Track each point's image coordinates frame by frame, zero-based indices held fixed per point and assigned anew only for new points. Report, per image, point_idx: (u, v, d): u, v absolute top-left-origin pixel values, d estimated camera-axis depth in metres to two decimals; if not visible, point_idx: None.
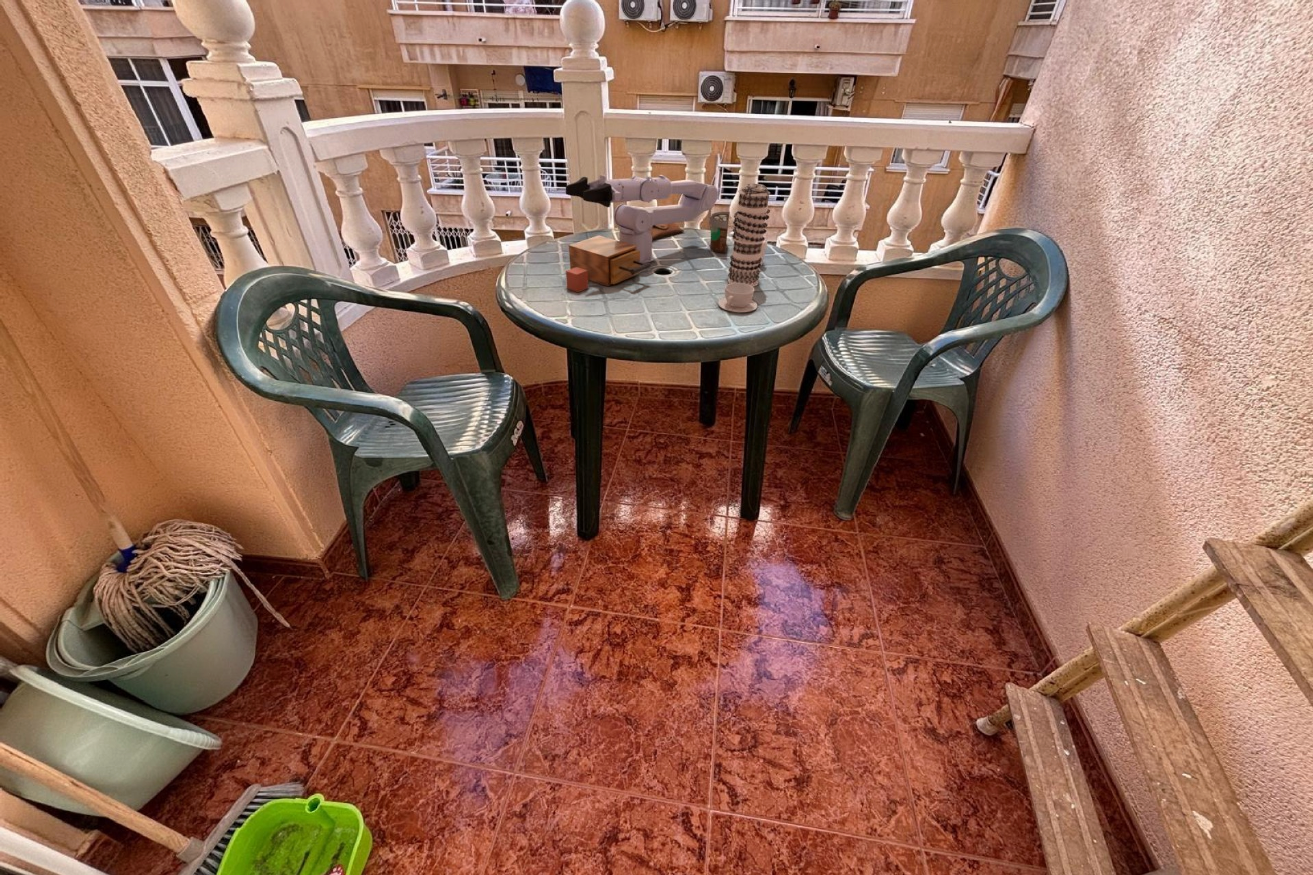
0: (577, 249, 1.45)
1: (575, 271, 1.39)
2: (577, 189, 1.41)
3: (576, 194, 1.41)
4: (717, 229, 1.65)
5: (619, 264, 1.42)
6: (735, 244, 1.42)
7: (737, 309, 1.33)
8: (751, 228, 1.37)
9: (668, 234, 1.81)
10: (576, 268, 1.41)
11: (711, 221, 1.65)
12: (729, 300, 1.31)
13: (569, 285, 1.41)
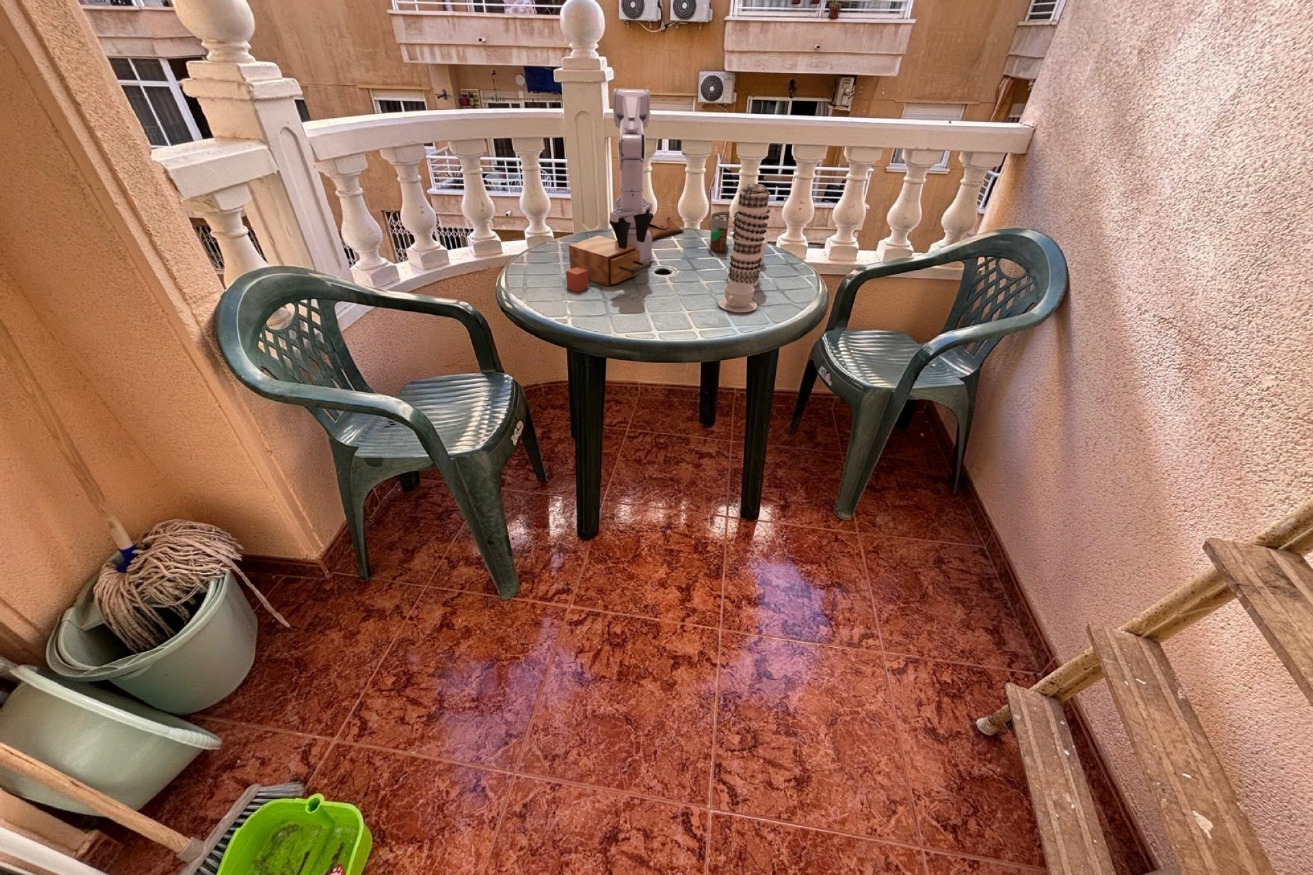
0: (577, 249, 1.45)
1: (575, 271, 1.39)
2: None
3: None
4: (717, 229, 1.65)
5: (619, 264, 1.42)
6: (735, 244, 1.42)
7: (737, 309, 1.33)
8: (751, 228, 1.37)
9: (668, 234, 1.81)
10: (576, 268, 1.41)
11: (711, 221, 1.65)
12: (729, 300, 1.31)
13: (569, 285, 1.41)
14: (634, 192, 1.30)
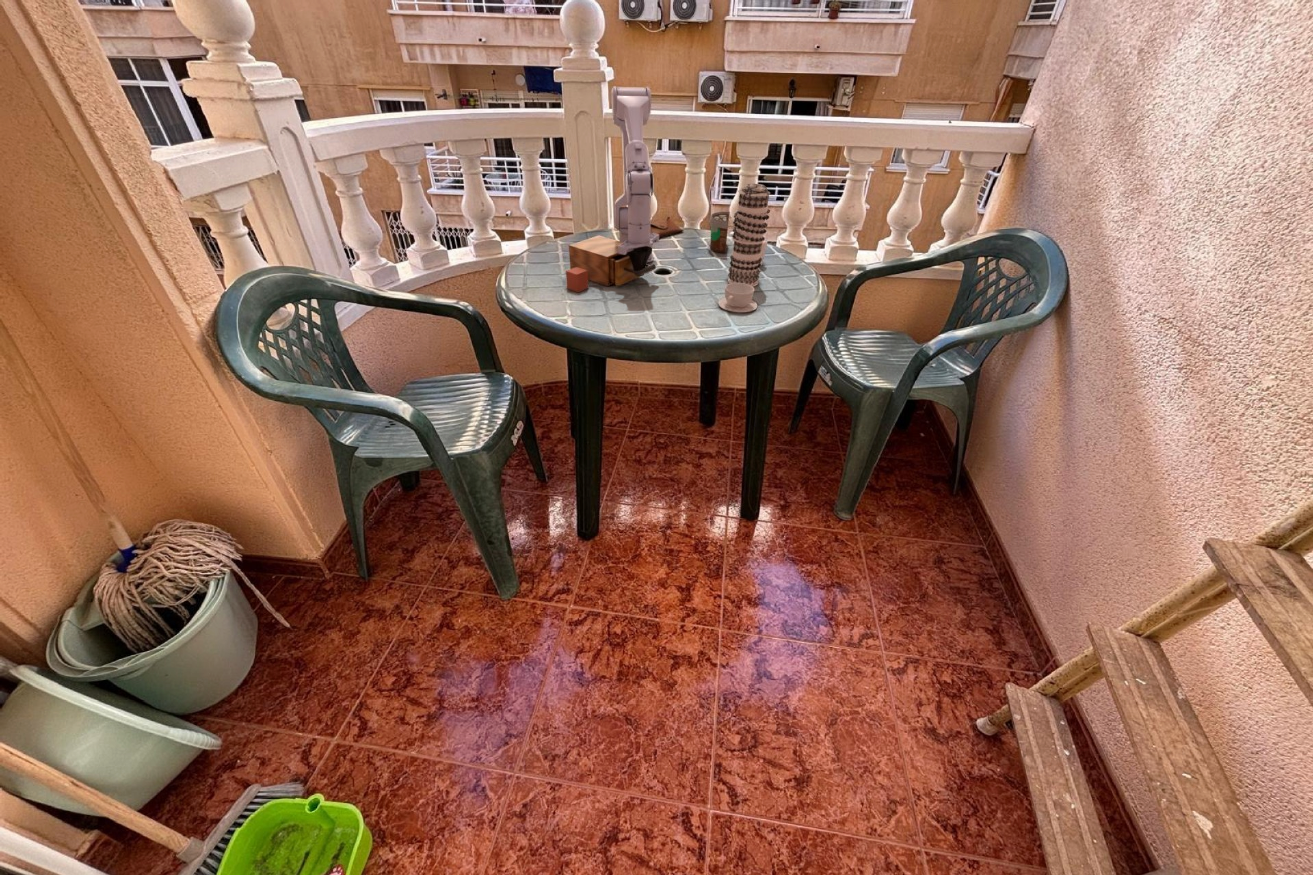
0: (577, 249, 1.45)
1: (575, 271, 1.39)
2: None
3: None
4: (717, 229, 1.65)
5: (624, 265, 1.41)
6: (735, 244, 1.42)
7: (737, 309, 1.33)
8: (751, 228, 1.37)
9: (668, 234, 1.81)
10: (576, 268, 1.41)
11: (711, 221, 1.65)
12: (729, 300, 1.31)
13: (569, 285, 1.41)
14: (642, 225, 1.33)
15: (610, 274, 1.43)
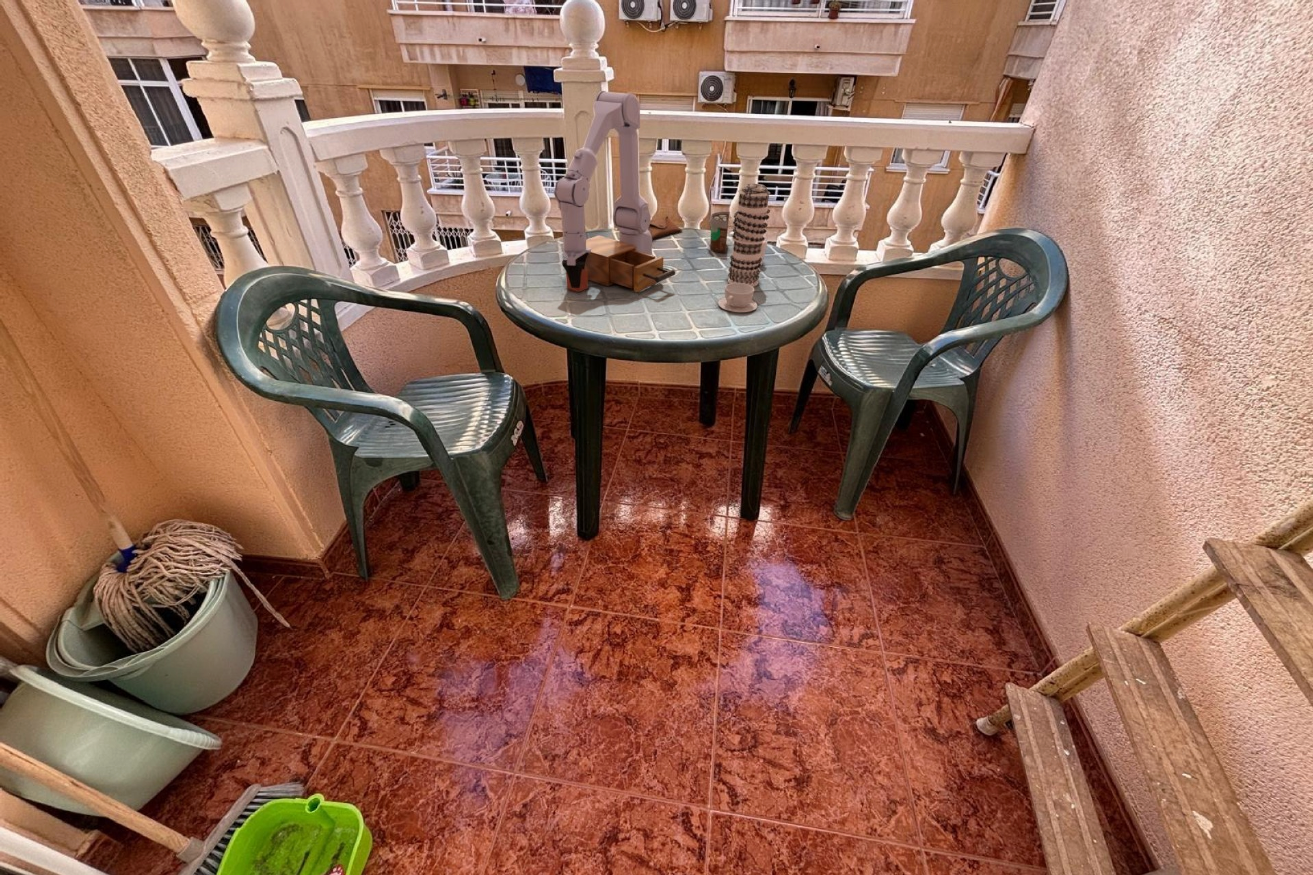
0: None
1: None
2: None
3: None
4: (717, 229, 1.65)
5: (643, 271, 1.38)
6: (735, 244, 1.42)
7: (737, 309, 1.33)
8: (751, 228, 1.37)
9: (667, 233, 1.81)
10: None
11: (711, 221, 1.65)
12: (729, 300, 1.31)
13: (569, 285, 1.41)
14: (582, 233, 1.32)
15: (628, 280, 1.40)
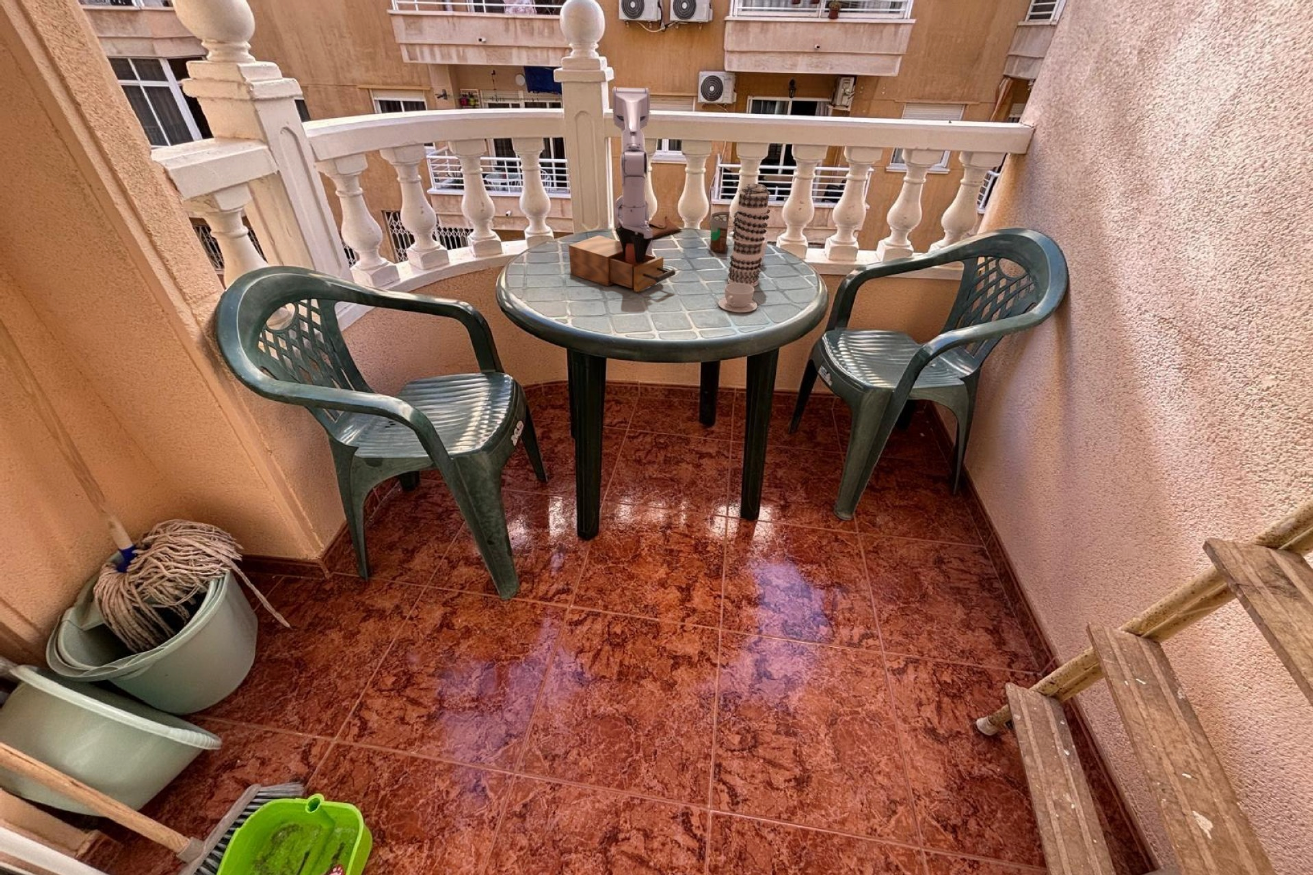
0: (577, 249, 1.45)
1: None
2: None
3: None
4: (717, 229, 1.65)
5: (643, 271, 1.38)
6: (735, 244, 1.42)
7: (737, 309, 1.33)
8: (751, 228, 1.37)
9: (666, 233, 1.81)
10: (629, 244, 1.41)
11: (711, 221, 1.65)
12: (729, 300, 1.31)
13: (629, 262, 1.40)
14: (645, 205, 1.34)
15: (628, 280, 1.40)
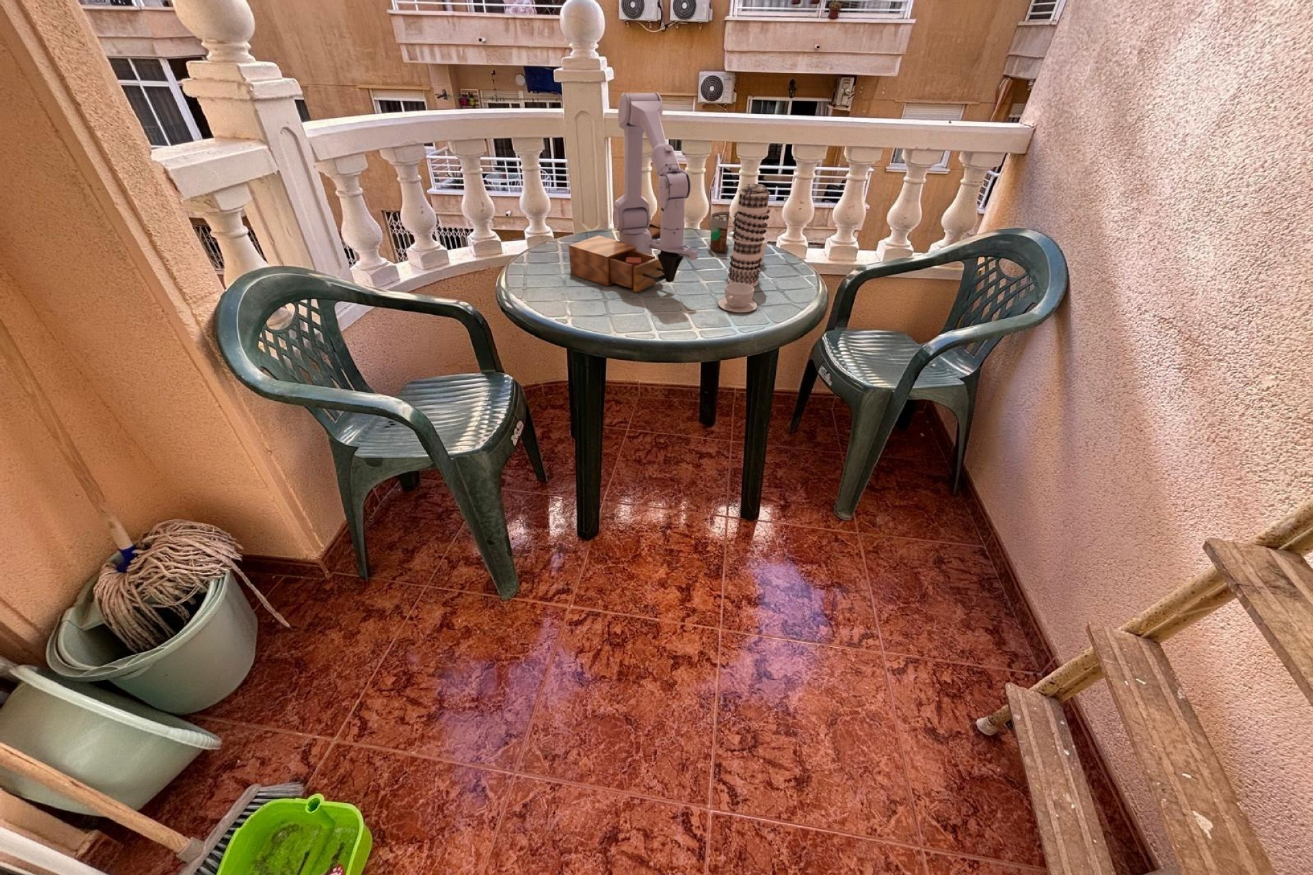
0: (577, 249, 1.45)
1: (634, 260, 1.42)
2: None
3: None
4: (717, 229, 1.65)
5: (642, 271, 1.38)
6: (735, 244, 1.42)
7: (737, 309, 1.33)
8: (751, 228, 1.37)
9: None
10: (629, 258, 1.43)
11: (711, 221, 1.65)
12: (729, 300, 1.31)
13: None
14: None
15: (628, 280, 1.40)
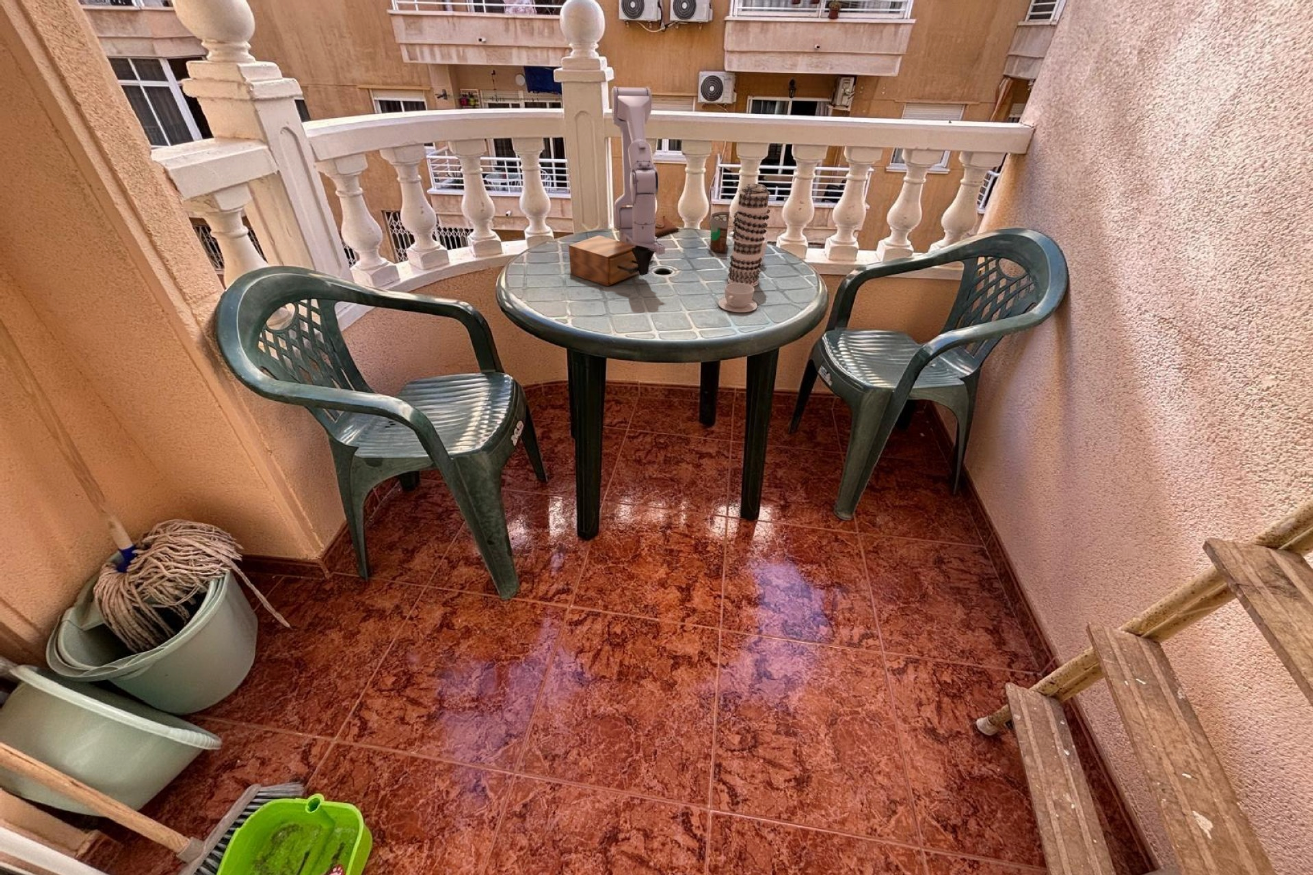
0: (577, 249, 1.45)
1: None
2: None
3: None
4: (717, 229, 1.65)
5: (617, 263, 1.42)
6: (735, 244, 1.42)
7: (737, 309, 1.33)
8: (751, 228, 1.37)
9: (665, 233, 1.82)
10: None
11: (711, 221, 1.65)
12: (729, 300, 1.31)
13: None
14: (654, 222, 1.35)
15: None
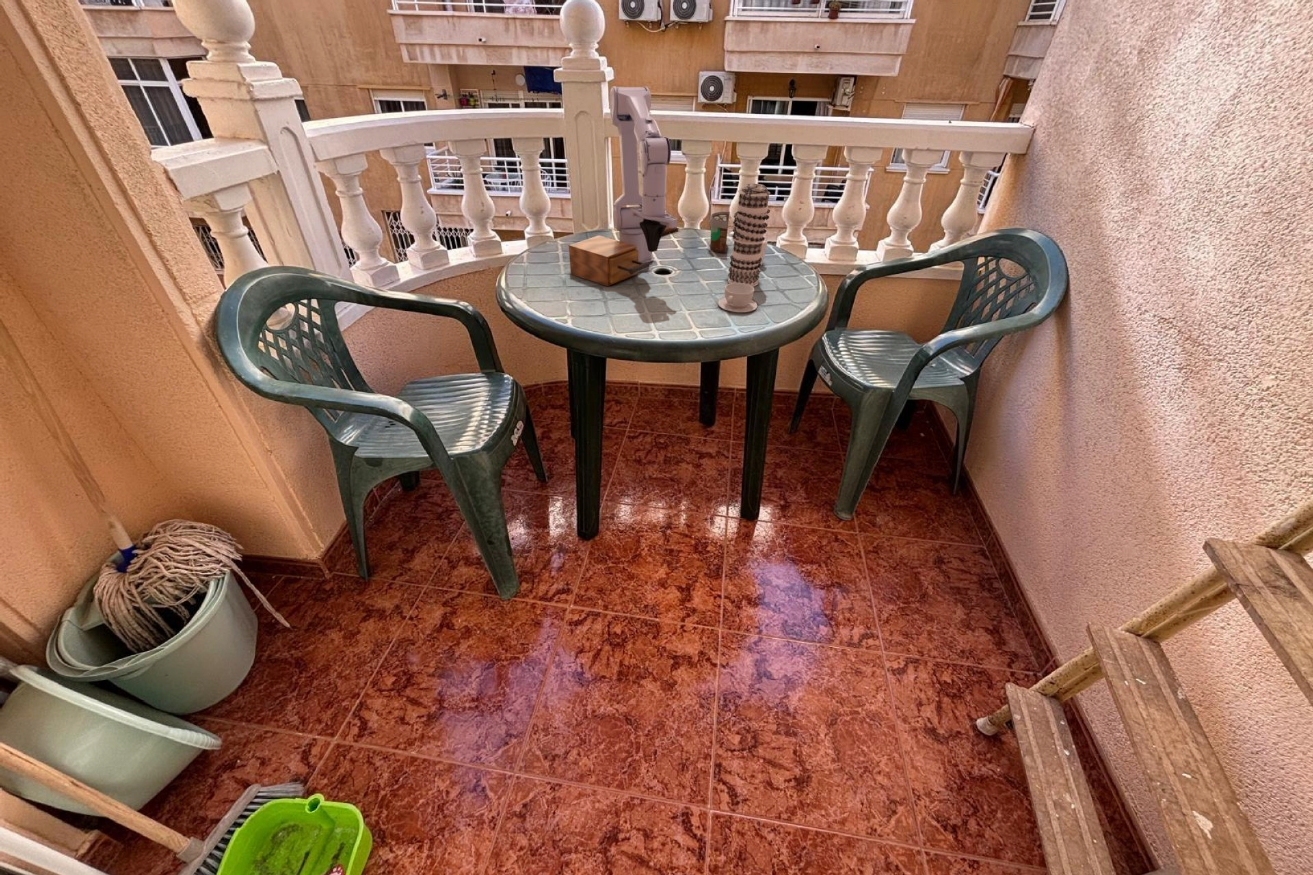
0: (577, 249, 1.45)
1: None
2: None
3: None
4: (717, 229, 1.65)
5: (618, 264, 1.42)
6: (735, 244, 1.42)
7: (737, 309, 1.33)
8: (751, 228, 1.37)
9: (665, 232, 1.82)
10: None
11: (711, 221, 1.65)
12: (729, 300, 1.31)
13: None
14: None
15: None
